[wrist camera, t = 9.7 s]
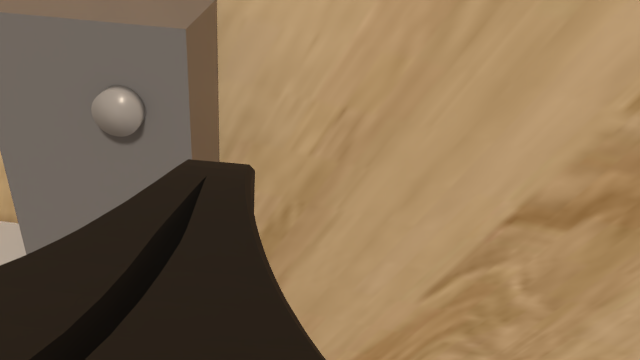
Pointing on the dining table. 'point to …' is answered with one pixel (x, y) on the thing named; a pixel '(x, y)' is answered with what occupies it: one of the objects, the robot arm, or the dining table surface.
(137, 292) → the robot arm
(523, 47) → the dining table surface
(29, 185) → the camera case
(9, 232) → the side door
